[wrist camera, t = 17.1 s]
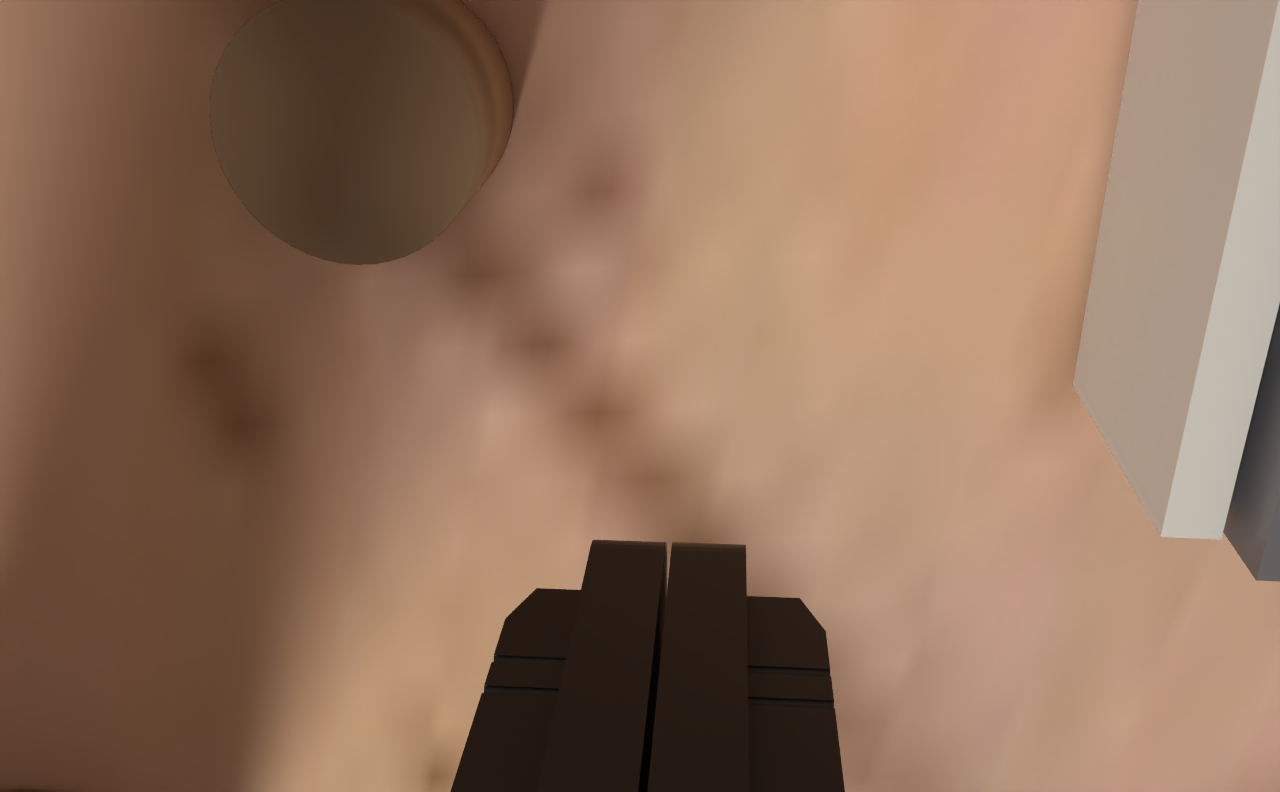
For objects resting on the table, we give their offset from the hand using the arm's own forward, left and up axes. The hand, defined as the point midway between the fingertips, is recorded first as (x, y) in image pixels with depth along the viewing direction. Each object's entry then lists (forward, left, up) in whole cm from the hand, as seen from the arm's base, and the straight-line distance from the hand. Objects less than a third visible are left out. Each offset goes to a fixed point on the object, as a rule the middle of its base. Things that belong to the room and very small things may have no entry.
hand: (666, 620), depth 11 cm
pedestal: (-7, +2, -15) cm, 16 cm away
